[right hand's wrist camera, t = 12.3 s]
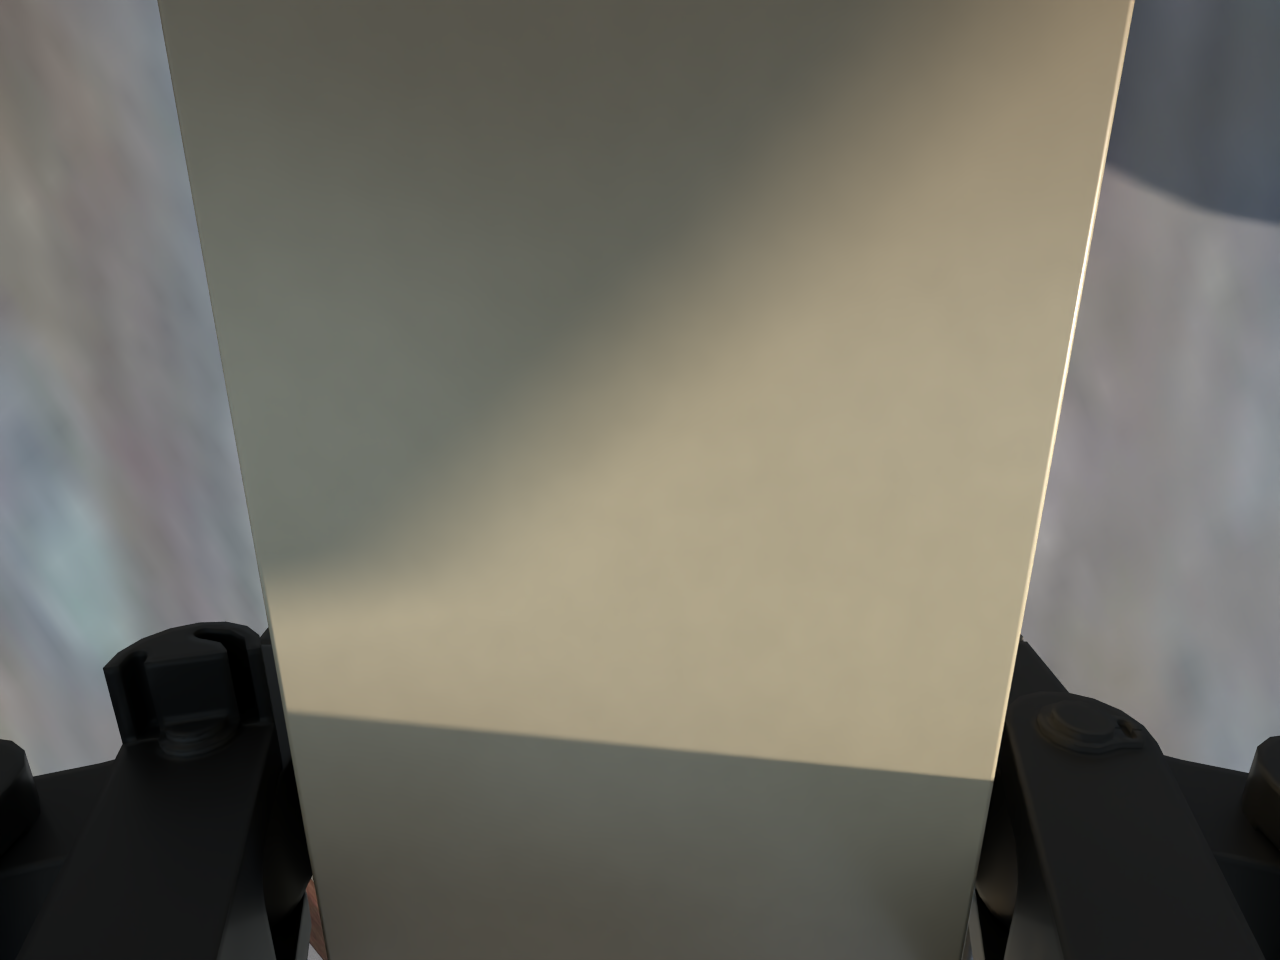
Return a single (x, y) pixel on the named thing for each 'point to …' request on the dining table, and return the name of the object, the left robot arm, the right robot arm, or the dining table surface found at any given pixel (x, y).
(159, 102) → the dining table surface
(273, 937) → the right robot arm
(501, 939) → the birch rail
